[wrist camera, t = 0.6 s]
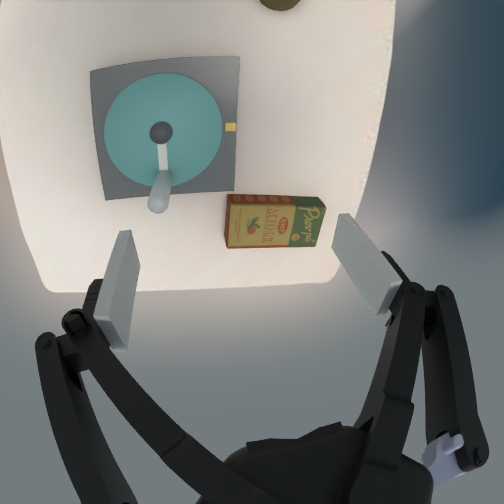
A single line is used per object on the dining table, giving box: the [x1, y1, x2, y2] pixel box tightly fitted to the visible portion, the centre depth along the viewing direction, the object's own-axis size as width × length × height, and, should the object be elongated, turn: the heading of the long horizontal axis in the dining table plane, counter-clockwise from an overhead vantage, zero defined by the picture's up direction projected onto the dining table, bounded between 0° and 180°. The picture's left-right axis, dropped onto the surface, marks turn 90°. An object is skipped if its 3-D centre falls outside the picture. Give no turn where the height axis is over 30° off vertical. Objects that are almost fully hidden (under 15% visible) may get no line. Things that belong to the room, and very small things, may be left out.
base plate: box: [90, 57, 240, 200], centre depth 34 cm, size 20×20×2 cm
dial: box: [104, 73, 223, 213], centre depth 30 cm, size 16×16×10 cm
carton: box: [224, 194, 326, 249], centre depth 47 cm, size 8×16×4 cm, turn 83°
